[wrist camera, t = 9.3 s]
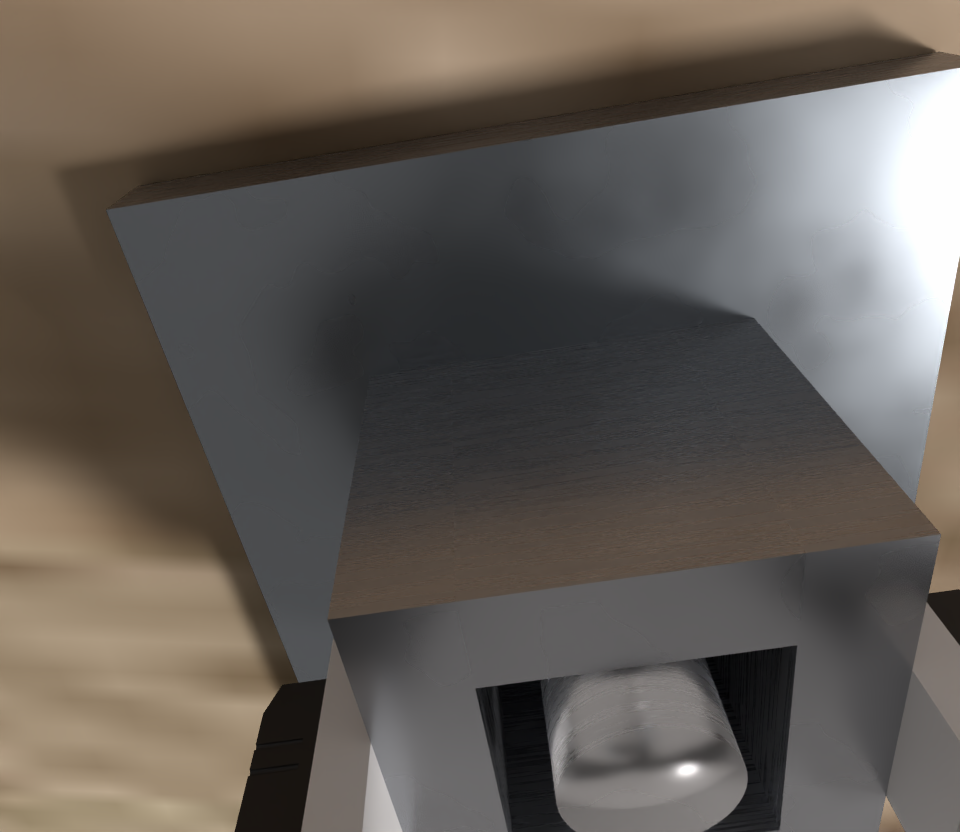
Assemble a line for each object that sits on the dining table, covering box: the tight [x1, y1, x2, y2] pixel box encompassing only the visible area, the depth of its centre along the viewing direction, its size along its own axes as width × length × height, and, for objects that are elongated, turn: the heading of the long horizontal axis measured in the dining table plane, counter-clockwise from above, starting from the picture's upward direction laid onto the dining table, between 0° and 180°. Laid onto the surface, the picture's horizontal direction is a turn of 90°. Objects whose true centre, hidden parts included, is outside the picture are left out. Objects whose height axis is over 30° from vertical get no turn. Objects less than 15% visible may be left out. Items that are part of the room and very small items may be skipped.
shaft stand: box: [106, 52, 960, 832], centre depth 13 cm, size 14×14×8 cm
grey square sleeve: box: [327, 318, 941, 832], centre depth 13 cm, size 7×7×6 cm
